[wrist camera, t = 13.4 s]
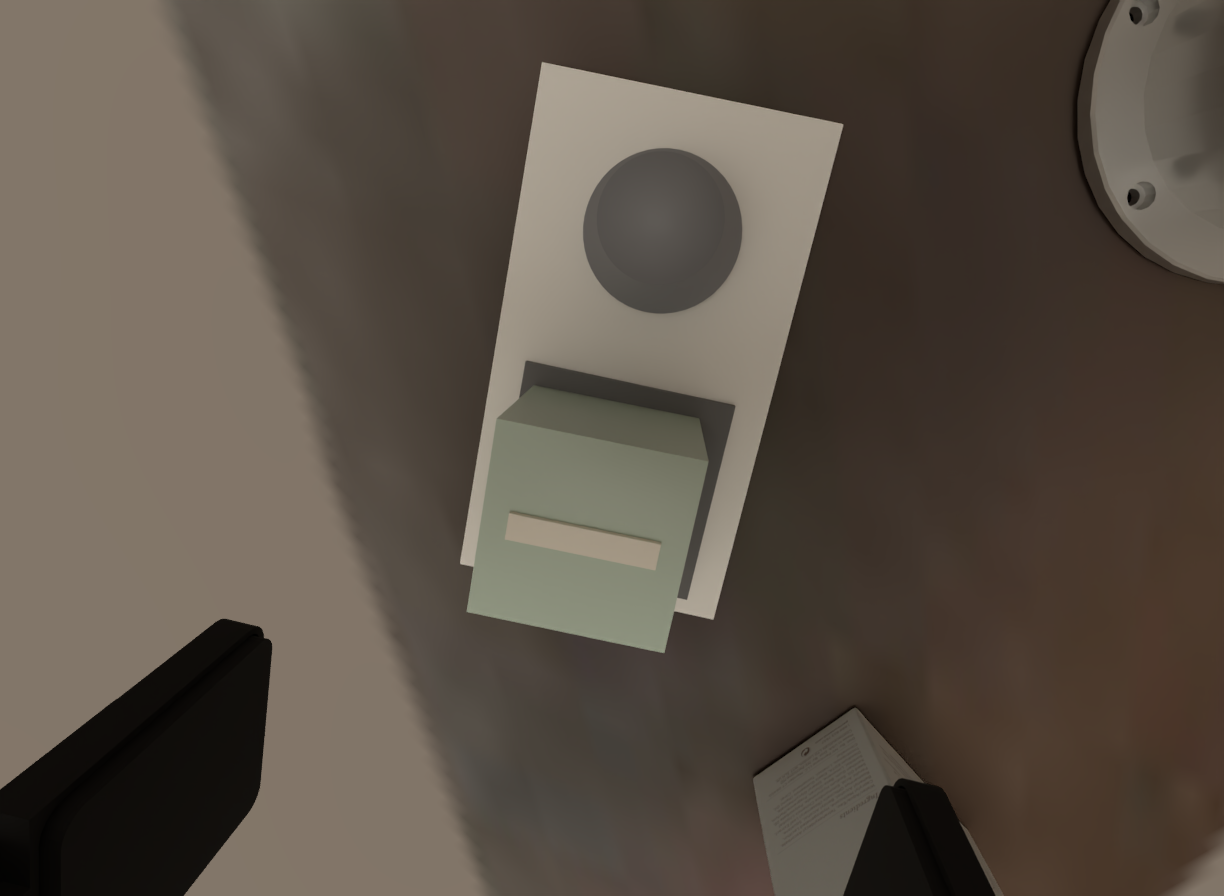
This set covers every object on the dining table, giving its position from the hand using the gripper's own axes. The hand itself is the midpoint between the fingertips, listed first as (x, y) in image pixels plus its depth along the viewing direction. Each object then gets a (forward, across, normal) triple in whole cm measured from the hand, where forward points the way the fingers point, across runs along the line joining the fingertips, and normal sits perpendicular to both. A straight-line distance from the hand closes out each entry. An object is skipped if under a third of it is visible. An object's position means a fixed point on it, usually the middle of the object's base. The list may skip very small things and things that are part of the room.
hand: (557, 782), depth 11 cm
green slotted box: (+16, +1, +1) cm, 16 cm away
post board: (+18, +1, -4) cm, 19 cm away
